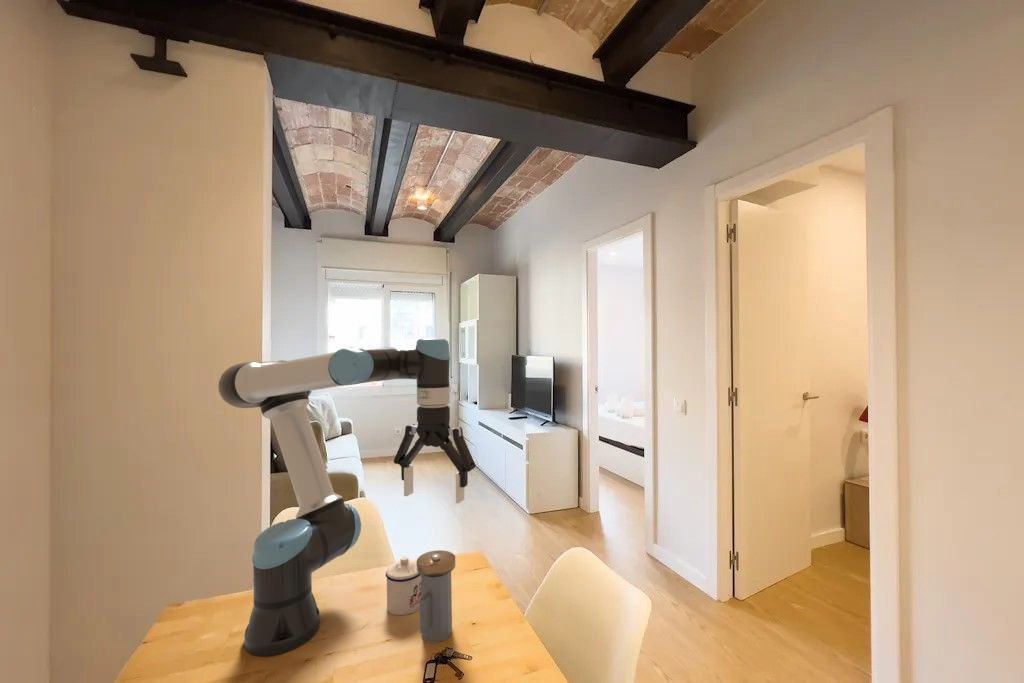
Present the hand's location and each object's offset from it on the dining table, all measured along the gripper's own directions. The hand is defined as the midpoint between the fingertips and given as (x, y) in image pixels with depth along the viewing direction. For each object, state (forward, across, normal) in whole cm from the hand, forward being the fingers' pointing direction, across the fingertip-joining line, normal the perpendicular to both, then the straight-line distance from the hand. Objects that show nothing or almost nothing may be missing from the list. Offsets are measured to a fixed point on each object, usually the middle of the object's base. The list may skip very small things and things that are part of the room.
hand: (433, 497), depth 99 cm
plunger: (+27, +2, -1) cm, 27 cm away
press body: (+29, +2, -3) cm, 30 cm away
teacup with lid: (+30, -12, +6) cm, 33 cm away
